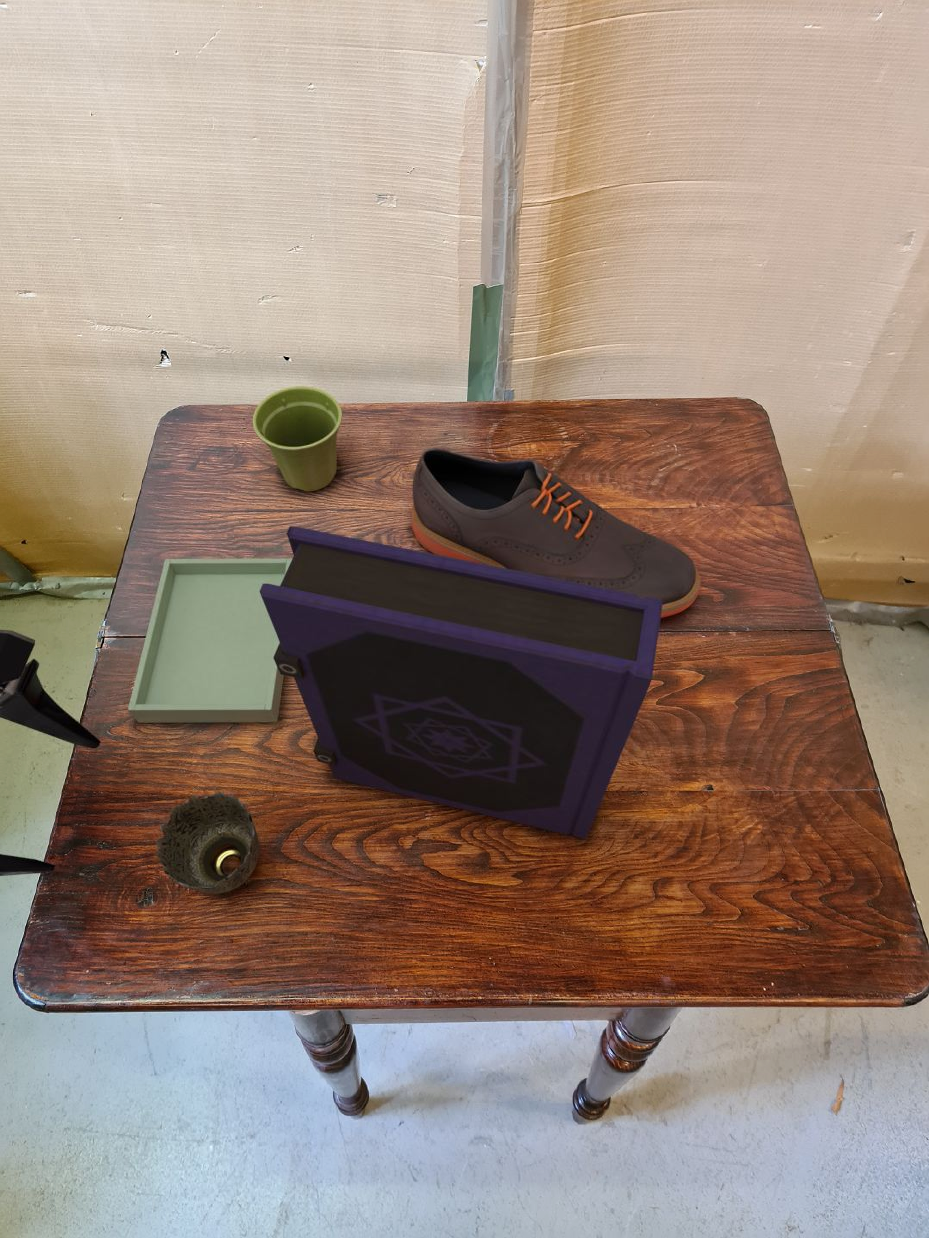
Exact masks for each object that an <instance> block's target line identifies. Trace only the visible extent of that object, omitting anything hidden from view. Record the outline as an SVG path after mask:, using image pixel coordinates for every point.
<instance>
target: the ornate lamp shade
mask: <svg viewBox="0 0 929 1238" xmlns="http://www.w3.org/2000/svg"><path fill="white" fill-rule="evenodd" d="M254 823H255V822H254V820H253V818H252V815H251V812H250V810H249V809H247V808H246V807H245V805H244V804H243V803H242V801H241V800H240V799H239V798H238V797H236V796H233V795H227V794H225V793H224V792H222V791H218V790H217V791H215V792H214V793H213V796H210V795H206V796H205V797H202V798H201V797H199V796H198V795H192V796H190V797H189V798H188V800H187V802H183V803H180V804H178V805H176V806H175V807H173V808H172V809H171V810H170V813H169V818H168V822H165V823H162V825H161V826H160V827H159V828H160V831H161V833H162V835H163V836H162V837H159V838H158V839H157V841H156V844H155V845H156V850H157V852H156V856H157V858H158V860H159V861H160V863H161V865H162V866H163V867H162V871H163V873H164V874H165V875H167V876H168V877H170V879H171V881H172V882H174V883H175V884H177V885H179V886H182V887H185V888H187V889H190V890H193V891H195V892H199V893H203V894H209V895H218V894H223V893H228V892H231V891H234V890H236V889H237V888H239V887H241V885H243V884H244V883H246V881H247V880H248V879H249V878H250V876H251V875H252V874H253V872H254V871H255V869H256V866H257V864H258V861H259V855H260V840H259V836H258V835H259V834H258V832H257V829H256V826H255V824H254ZM232 856H233V857H236V858H237V859H239V861H240V862H239V865H238V867H237V868H236V869H235V870H233V871H231V873H230V874H227V873H225V872H224V871H223V868H222V864H223V862H224V861H225V860H226V858H229V857H232Z"/></svg>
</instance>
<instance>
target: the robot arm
mask: <svg viewBox="0 0 929 1238" xmlns="http://www.w3.org/2000/svg"><path fill="white" fill-rule="evenodd" d="M35 646H36V640H35V639H34V638H31V637H29V636H26V635H24V634H21V633H19V632H17V631H14V630H11V629H0V719H3V720H6V721H9V722H12V723H14V724H18V725H21V726H23V727H26V728H28V729H31V730H33V731H36V732H40V733H43V734H45V735H47V736H50V737H52V738H55V739H58V740H62V741H64V742H67V743H70V744H73V745H76V746H79V747H80V746H81V747H85V748H90V749H97V748H98V747H100V746H101V743H102V742H101V739H99V738H98V737H97V736H96V735H94V733H92V732H91V731H90V730H88V729H87V728H86V727H85V726H84V725H83V724H81V723H80V722H79V721H78V720H77V719H75V718H74V717H73V716H72V715H71V714H69V713H68V712H67V711H66V710H65V709H64V708H62V706H60V705H59V704H58V703H57V702H56V701H55V699H53V698H52V697H51V696H50V694H48V692H47V691H46V690H45V689H44V687H43V684H42V682H41V680H40V678H39V676H38V669H39V667H40V663H39V661H38V660H37V659H36V658H32V659H31V660H30V661H29V659H30V657H31V654H32V652H33V649H34V648H35ZM55 868H56V864H53V863H50V862H47V861H43V860H41V859H37V858H29V857H23V856H16V855H9V854H4V853H3V854H2V853H0V877H6V876H7V877H8V876H20V875H33V874H47V873H51V872H54V871H55Z"/></svg>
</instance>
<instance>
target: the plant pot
mask: <svg viewBox="0 0 929 1238" xmlns="http://www.w3.org/2000/svg"><path fill="white" fill-rule="evenodd" d="M342 419H343V412H342V408H341V406H340V404H339V402H338V401H337V399H336V398H335V397H334V396H333V395H331V394H330V393H328V392H326V391H324V390H323V389H320V388H317V387H314V386H304V385H302V386H291V387H285V388H283V389H282V388H281V389H279V390H276V391H275V392H272V393H271V394H269V395H268V396H266V397H265V398H263V400H261V402H259V404H258V405H257V407H256V409H255V410H254V413H253V416H252V426H253V430H254V432H255V434H256V435H257V437H258V438H259V439H260V440H261V441H262V442H263V443H264V444H265V445H266V446H267V447H268V448H269V450H270V452H271V454H272V456H273V458H274V461H275V463H276V464H277V467H278V468H279V471H280V473H281V475H282V477H283V479H284V481H285V483H286V484H287V485H288V486H289V487H290V488H292V489H297V490H301V491H305V492H314V491H319V490H321V489H323V488H326V487H327V486H328V485H330V484H331V483H332V481H333V479H334V478H335V475H337V470H338V469H337V464H338V462H337V461H338V459H337V436H338V432H339V429H340V427H341V425H342Z"/></svg>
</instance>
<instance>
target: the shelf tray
mask: <svg viewBox="0 0 929 1238" xmlns="http://www.w3.org/2000/svg"><path fill="white" fill-rule="evenodd" d="M292 559H293V557H288V558H285V557H284V558H278V557H277V558H276V557H275V558H274V557H273V558H262V557H261V558H165V559H164V562H163V566H162V570H161V575H160V578H159V583H158V586H157V590H156V593H155V599H154V602H153V607H152V610H151V614H150V618H149V622H148V626H147V631H146V634H145V639H144V642H143V647H142V651H141V654H140V659H139V663H138V667H137V671H136V676H135V679H134V684H133V686H132V691H131V695H130V699H129V703H128V707H127V711H128V712H129V713H130V715H131V716H132V717H133V718H134V720H136V722H137V723H139V724H142V723H143V724H147V723H149V724H151V723H153V724H154V723H158V724H159V723H160V724H161V723H162V724H163V723H165V724H166V723H168V724H169V723H171V724H172V723H176V724H178V723H179V724H180V723H181V724H182V723H185V724H186V723H187V724H189V723H191V724H192V723H278V721H279V714H280V706H281V699H282V691H283V686H284V685H283V684H284V677H285V675H281V674H280V672H279V670H278V667H277V665H276V663H275V660H274V658H273V657H274V655H275V652H276V650H277V648H278V645H279V643H280V642H279V639H278V637H277V634H276V632H275V629H274V627H273V624H272V622H271V619H270V617H269V614H268V612H267V609H266V607H265V604H264V602H263V599H262V597H261V594H260V592H259V591H260V589H261V587H262V585H263V584H267V583H268V584H272V585H277V586H280V585H281V583H282V581H283V578H284V576H285V574H286V572H287V570H288V567H289V565H290V563H291V561H292Z"/></svg>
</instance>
